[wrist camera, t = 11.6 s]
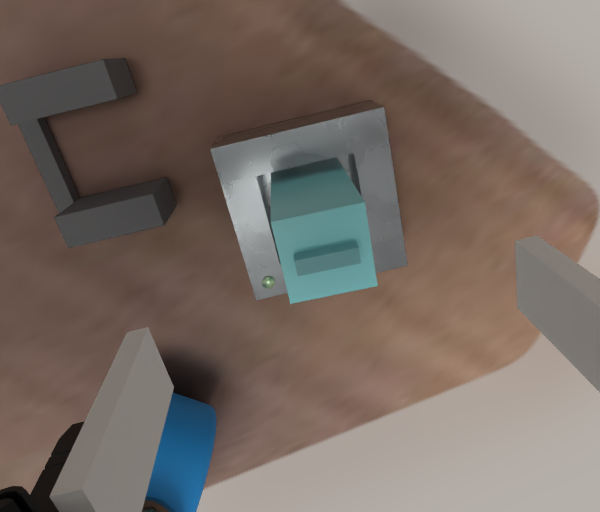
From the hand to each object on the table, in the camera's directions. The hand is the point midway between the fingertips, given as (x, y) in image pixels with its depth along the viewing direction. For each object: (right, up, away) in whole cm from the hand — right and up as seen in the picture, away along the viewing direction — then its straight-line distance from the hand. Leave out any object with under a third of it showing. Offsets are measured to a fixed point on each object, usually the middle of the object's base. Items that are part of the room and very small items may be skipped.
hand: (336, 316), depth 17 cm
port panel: (-1, +6, +15) cm, 17 cm away
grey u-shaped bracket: (-14, +9, +13) cm, 21 cm away
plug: (-1, +6, +15) cm, 16 cm away
